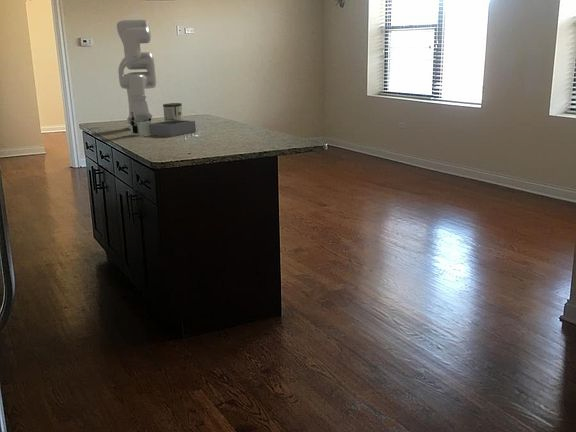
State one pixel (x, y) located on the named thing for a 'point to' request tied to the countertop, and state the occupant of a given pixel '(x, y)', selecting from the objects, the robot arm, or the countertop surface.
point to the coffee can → (172, 111)
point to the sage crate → (141, 128)
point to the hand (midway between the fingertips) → (141, 131)
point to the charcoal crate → (172, 128)
